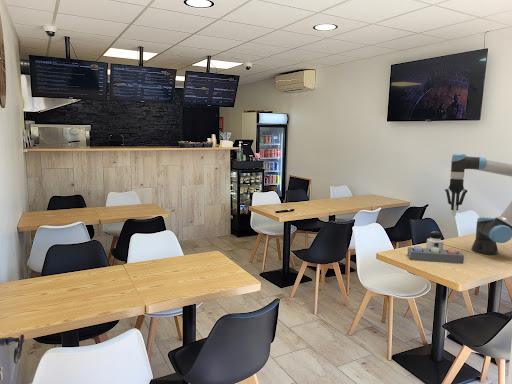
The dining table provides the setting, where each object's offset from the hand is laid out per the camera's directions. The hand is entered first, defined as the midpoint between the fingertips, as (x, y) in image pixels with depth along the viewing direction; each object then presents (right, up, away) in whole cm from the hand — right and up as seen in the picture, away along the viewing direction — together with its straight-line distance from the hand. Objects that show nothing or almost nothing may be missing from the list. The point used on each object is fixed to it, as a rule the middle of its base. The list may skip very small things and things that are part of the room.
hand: (454, 215), depth 241 cm
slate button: (-24, -25, -2) cm, 34 cm away
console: (-14, -27, -4) cm, 31 cm away
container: (-6, -25, +13) cm, 29 cm away
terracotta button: (-4, -25, -6) cm, 26 cm away
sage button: (-14, -25, -4) cm, 29 cm away
